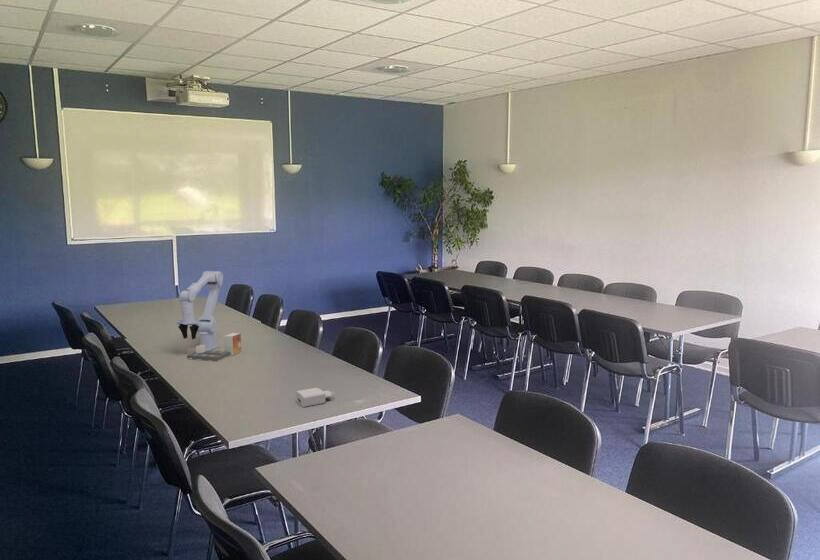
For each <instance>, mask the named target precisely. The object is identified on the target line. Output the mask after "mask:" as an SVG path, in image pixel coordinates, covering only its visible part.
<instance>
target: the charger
mask: <svg viewBox="0 0 820 560" xmlns="http://www.w3.org/2000/svg"><path fill="white" fill-rule="evenodd" d="M335 394H336V393H335V392H334V391H330V390H322V389H320V388H319V387H312V388H308V389H307V388H306V389H302V390H301V389H300V390H296V391H295V401H296V402H297V403H298V404H299V405H300V406H301V407H303V408H305V407H306V408H307V407H310V406H317V405H320V404H324V403H326V401H327V400H326V399H328V398H331V397H332V396H333V395H335Z"/></svg>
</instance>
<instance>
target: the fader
mask: <svg viewBox="0 0 820 560" xmlns="http://www.w3.org/2000/svg"><path fill="white" fill-rule="evenodd" d="M195 352H196V353H203V352H206V351H205V345H203V344H202V345H200V344H199V345H195Z"/></svg>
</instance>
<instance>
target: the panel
mask: <svg viewBox="0 0 820 560" xmlns="http://www.w3.org/2000/svg"><path fill="white" fill-rule="evenodd" d="M205 351H206V352H203V353H196V351H194V352H192V353H189V354H187V355H186V359H187V358H192V359H191V360H195V359H202V360H201V361H208V360H212V361H211V362H219V361H221V360H223V359H225V357H226V358H228V357H230V356H231V355H230V352H227V351H224V350H214V349H212V350H205ZM218 360H219V361H218Z"/></svg>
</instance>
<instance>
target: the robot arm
mask: <svg viewBox="0 0 820 560" xmlns="http://www.w3.org/2000/svg"><path fill="white" fill-rule="evenodd" d="M223 282H224V275H223V272H221V270H220V271H219V270H218V271H215V270H213V271H212V270H211V271H210V270H205V271H204V272H202V274H201V277H200V278H199V279H198V281H196V282H192V283H191V284H190V286H188V287H187V288H186V289H185V290H182V291H180V292H179V295H178V300H179V303H180V305H181V310H182V311H181V313H182V314H181V315H182V320H176V321H175V325H176V326H177V325H178V327H177V328H178V329H179V330H180V332H181V335H182V337H183V339H188V328H189V330H190V333H191V339H192V340H194V339H196V337H197V334H198V335H199V345H202V344H203V345H205V350H214V349H217V348H219V347H220V346H219V345H218V336H217V333H216V330H217V320H216V319H215V317H214V315H215V311H216V306H217V302H218V299H219V295H220V291H221V287H222V285H223ZM205 285H206V287H207V288H209V290H208V291H209V292H208V295H207V299H206V303H205V307H204V311H203V314H202V316H199V318H198V320H195V311H194V301H195V300H196V297H197V295H198V294H200V293H201V291H202V288H203V287H204V286H205Z"/></svg>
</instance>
